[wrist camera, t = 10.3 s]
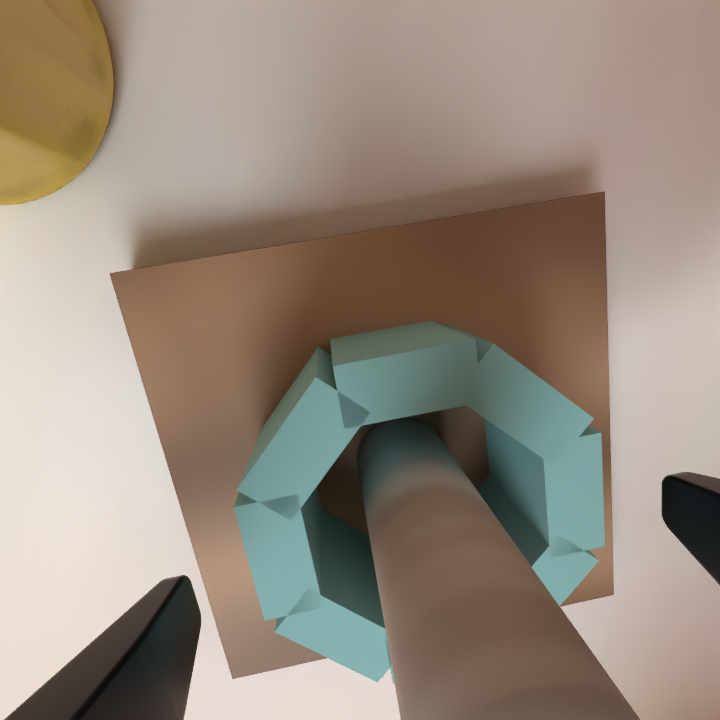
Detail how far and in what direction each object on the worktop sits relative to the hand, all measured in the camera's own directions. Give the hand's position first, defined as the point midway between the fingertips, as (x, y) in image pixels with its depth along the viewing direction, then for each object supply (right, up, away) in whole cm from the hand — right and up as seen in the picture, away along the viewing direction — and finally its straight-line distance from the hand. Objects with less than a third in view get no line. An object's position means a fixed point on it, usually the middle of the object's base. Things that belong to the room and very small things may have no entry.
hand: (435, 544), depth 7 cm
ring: (0, +1, +3) cm, 4 cm away
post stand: (0, +1, +4) cm, 4 cm away
